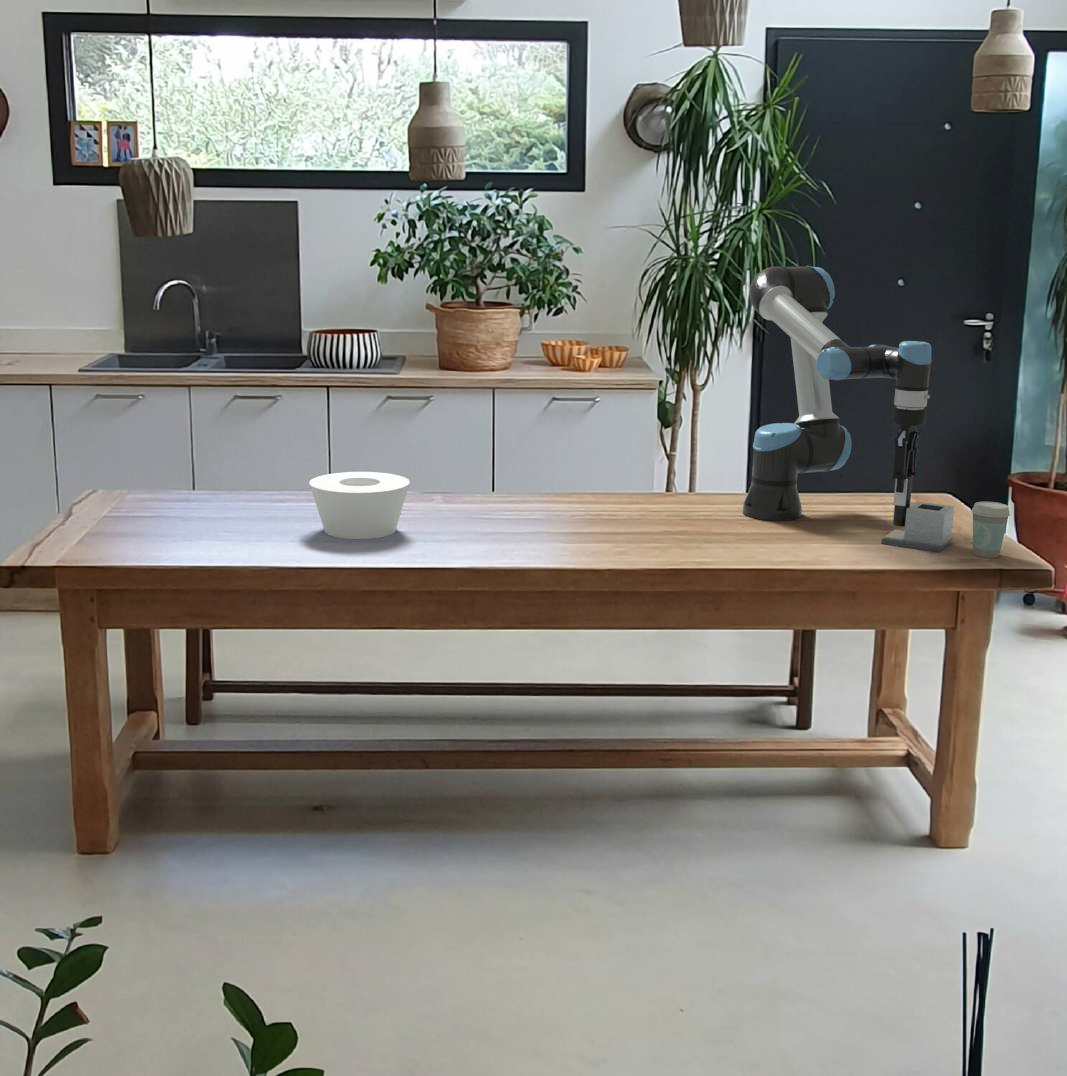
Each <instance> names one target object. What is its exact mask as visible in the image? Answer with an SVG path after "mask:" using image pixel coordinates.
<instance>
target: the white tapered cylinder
mask: <svg viewBox="0 0 1067 1076" xmlns="http://www.w3.org/2000/svg"><path fill="white" fill-rule="evenodd" d="M410 483H411V482H410V479H408V478H407V477H404V476H402V475H398V474H394V473H388V472H387V473H386V472H378V471H377V472H375V471H347V472H345V471H344V472H335V473H328V474H324V475H323V474H322V475H319V476H316V477H314V478H312V479H310V480H309V483H308V484H309V487H310V490H311V493H312V495H313V499H314V502H315V505H316V508H317V512H318V515H319V518H320V521H321V525H322V528H323V530H324V533H326V535H329V536H331V537H334V538H338V539H339V538H340V539H347V540H348V539H349V540H369V539H378V538H384V537H388V536H390V535H392V534H394V533H395V532H396V530H397V527H398V524H399V521H400V517H401V514H402V510H403V506H404V503H405V499H406V496H407V492H408V490H409V486H410Z"/></svg>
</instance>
